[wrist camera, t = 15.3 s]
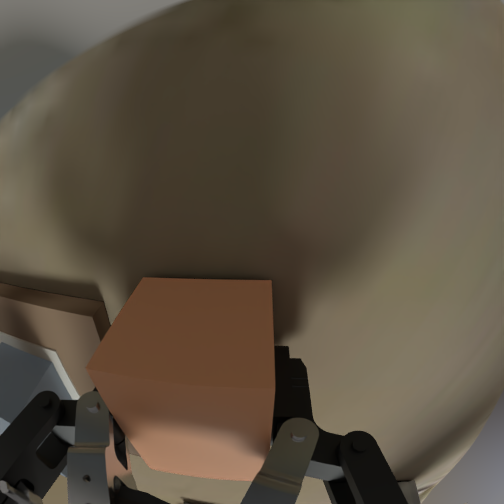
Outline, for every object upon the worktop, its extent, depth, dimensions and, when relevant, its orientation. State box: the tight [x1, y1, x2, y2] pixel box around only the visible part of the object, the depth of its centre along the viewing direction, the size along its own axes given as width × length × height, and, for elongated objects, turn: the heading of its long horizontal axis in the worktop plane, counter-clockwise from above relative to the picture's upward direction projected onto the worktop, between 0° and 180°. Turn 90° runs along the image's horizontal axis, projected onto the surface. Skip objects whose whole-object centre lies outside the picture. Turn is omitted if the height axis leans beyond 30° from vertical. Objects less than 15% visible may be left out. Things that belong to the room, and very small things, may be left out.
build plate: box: [0, 283, 141, 457], centre depth 15 cm, size 14×15×1 cm
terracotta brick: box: [86, 277, 275, 481], centre depth 10 cm, size 5×7×5 cm
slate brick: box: [0, 342, 73, 477], centre depth 12 cm, size 5×7×5 cm
